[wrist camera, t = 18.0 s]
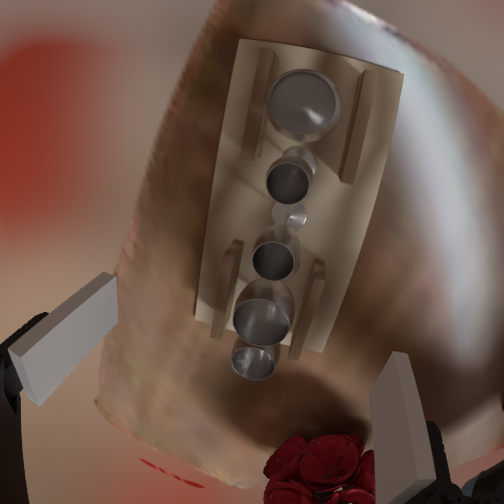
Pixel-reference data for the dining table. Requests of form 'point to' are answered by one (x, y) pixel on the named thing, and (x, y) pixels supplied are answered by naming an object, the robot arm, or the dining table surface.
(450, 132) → the dining table surface
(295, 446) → the bouquet
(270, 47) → the glass rack
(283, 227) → the goblet set
